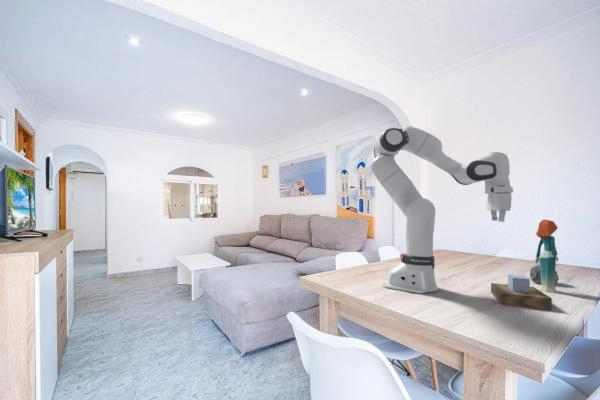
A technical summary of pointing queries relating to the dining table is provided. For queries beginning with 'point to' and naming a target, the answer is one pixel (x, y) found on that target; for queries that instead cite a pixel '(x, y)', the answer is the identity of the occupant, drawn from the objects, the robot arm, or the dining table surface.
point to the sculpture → (547, 255)
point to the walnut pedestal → (521, 297)
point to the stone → (539, 275)
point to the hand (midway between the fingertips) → (497, 221)
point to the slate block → (519, 283)
